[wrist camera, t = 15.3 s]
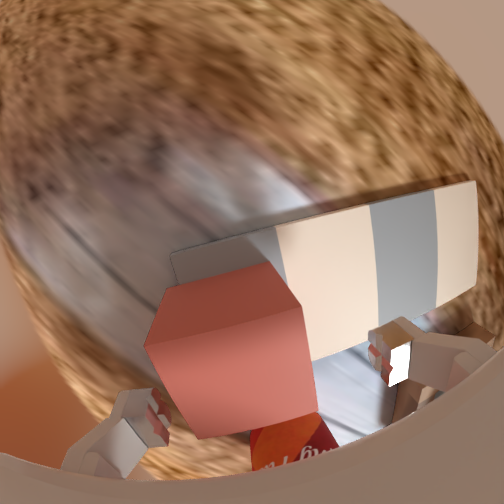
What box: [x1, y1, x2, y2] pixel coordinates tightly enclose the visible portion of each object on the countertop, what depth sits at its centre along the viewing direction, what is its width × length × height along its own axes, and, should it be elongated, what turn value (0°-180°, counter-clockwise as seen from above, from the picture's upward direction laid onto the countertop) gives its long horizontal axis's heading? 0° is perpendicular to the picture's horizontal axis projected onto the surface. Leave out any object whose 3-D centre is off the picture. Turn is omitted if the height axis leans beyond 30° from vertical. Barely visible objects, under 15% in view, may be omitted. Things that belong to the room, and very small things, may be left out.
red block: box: [144, 261, 319, 439], centre depth 11 cm, size 5×5×5 cm
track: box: [169, 180, 478, 361], centre depth 14 cm, size 20×8×1 cm, turn 104°
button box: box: [392, 322, 495, 424], centre depth 17 cm, size 9×9×3 cm
